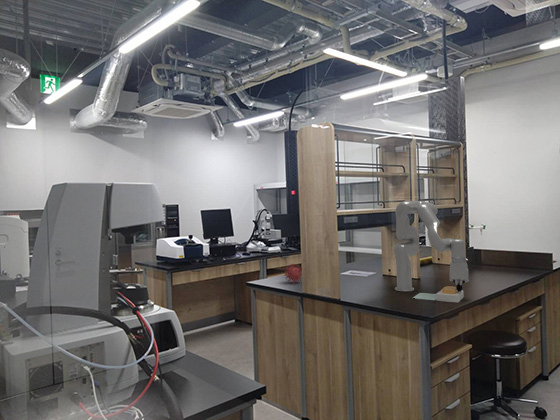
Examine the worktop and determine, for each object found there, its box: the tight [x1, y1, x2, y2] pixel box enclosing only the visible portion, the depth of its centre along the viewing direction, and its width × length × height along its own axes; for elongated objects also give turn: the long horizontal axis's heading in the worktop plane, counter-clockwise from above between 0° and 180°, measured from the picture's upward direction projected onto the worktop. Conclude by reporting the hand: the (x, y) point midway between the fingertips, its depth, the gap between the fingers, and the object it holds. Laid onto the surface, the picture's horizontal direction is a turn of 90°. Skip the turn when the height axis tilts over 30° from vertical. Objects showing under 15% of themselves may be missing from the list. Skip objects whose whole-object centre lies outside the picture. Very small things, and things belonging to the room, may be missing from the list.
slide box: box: [441, 285, 458, 294], centre depth 247 cm, size 10×7×2 cm
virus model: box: [284, 263, 302, 283], centre depth 316 cm, size 15×15×15 cm
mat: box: [412, 292, 437, 301], centre depth 255 cm, size 16×13×1 cm
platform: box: [435, 289, 465, 303], centre depth 247 cm, size 16×12×4 cm
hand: (459, 291), depth 244 cm, fingers closed
